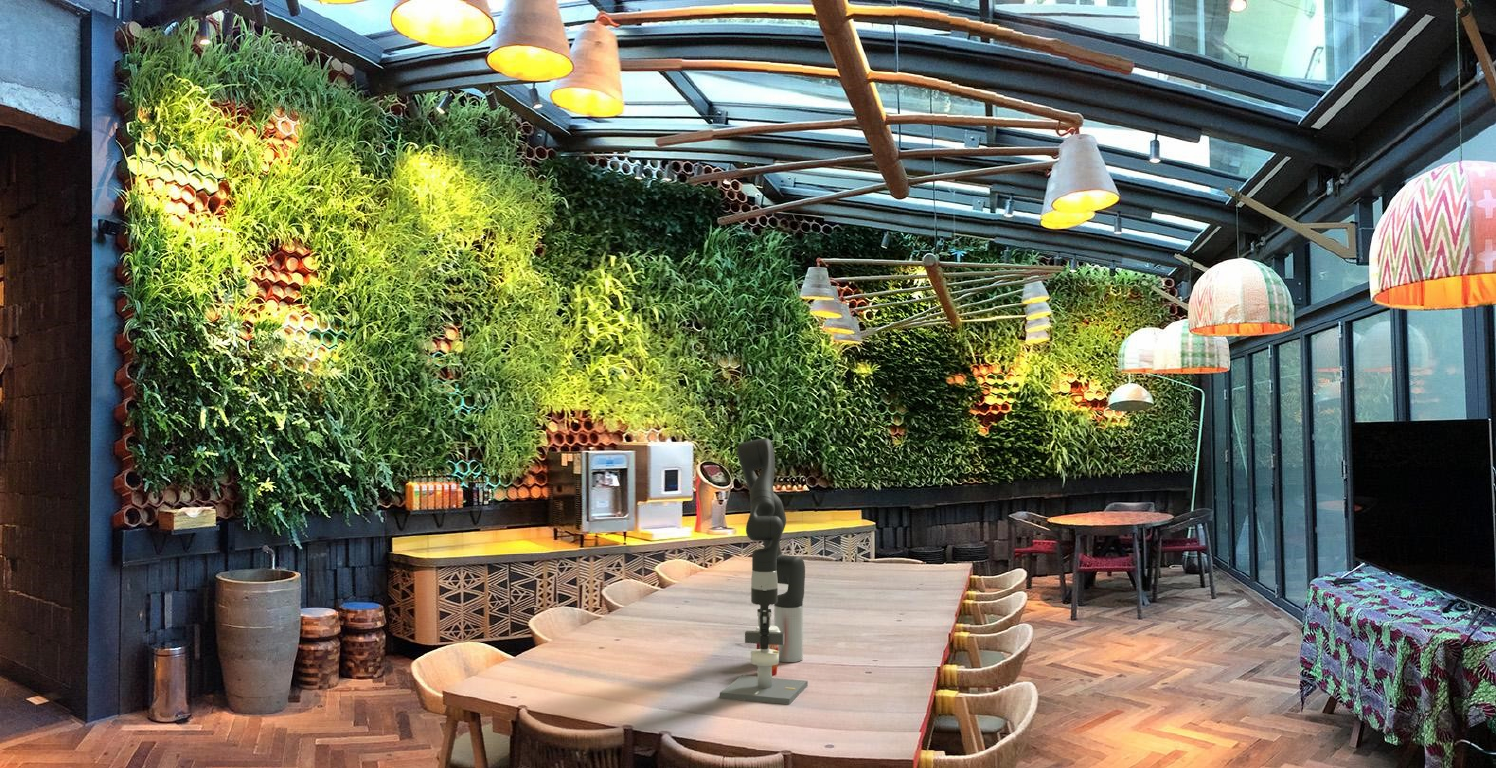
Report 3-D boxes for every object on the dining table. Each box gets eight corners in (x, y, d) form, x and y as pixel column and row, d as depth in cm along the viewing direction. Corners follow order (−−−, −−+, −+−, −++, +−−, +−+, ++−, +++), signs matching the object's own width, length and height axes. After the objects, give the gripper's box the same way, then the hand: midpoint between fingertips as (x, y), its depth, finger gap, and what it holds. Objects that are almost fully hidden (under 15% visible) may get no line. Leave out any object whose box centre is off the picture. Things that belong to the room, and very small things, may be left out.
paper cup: (758, 677, 296) (759, 630, 297) (752, 671, 304) (752, 625, 304) (783, 676, 298) (783, 629, 299) (776, 669, 306) (776, 624, 306)
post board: (742, 680, 293) (742, 653, 293) (807, 686, 287) (807, 658, 287) (719, 698, 274) (719, 668, 274) (789, 704, 268) (789, 674, 268)
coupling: (742, 664, 278) (742, 634, 278) (749, 658, 286) (749, 628, 286) (780, 667, 276) (780, 636, 276) (786, 660, 283) (786, 630, 284)
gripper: (751, 582, 289) (750, 642, 288) (751, 590, 275) (751, 653, 274) (776, 582, 289) (776, 642, 288) (778, 590, 275) (778, 653, 274)
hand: (764, 647), depth 281 cm, fingers closed on coupling, 3 cm apart
